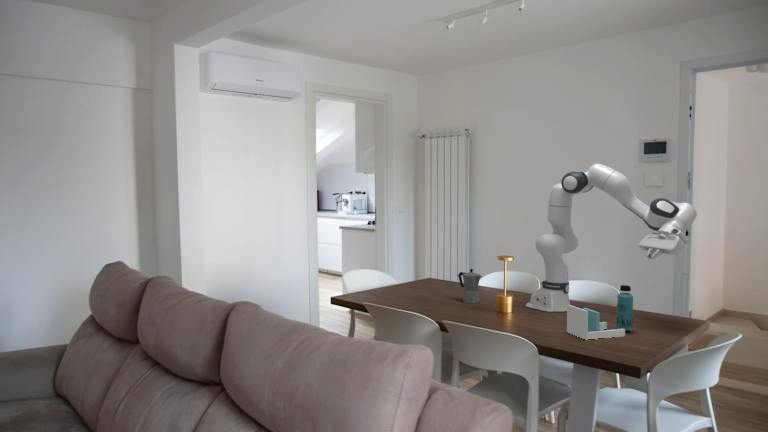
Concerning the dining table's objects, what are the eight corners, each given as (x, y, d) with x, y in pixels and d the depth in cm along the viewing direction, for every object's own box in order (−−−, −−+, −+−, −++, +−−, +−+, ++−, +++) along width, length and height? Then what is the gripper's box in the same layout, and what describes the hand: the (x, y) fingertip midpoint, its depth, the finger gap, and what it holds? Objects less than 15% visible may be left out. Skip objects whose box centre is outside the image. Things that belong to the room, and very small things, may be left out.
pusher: (585, 330, 227) (585, 307, 226) (599, 336, 218) (599, 312, 217) (582, 331, 226) (582, 308, 226) (596, 336, 217) (596, 312, 217)
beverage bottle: (618, 328, 231) (619, 283, 230) (634, 331, 227) (635, 285, 226) (614, 331, 226) (614, 285, 225) (630, 334, 222) (631, 287, 221)
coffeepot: (486, 302, 287) (486, 269, 286) (476, 304, 280) (476, 271, 279) (463, 298, 298) (463, 266, 297) (453, 300, 291) (453, 268, 290)
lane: (605, 328, 231) (605, 301, 231) (625, 336, 219) (625, 307, 219) (566, 332, 226) (567, 304, 226) (585, 340, 214) (585, 311, 214)
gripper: (646, 227, 238) (628, 250, 236) (683, 231, 219) (663, 256, 216) (654, 237, 240) (636, 259, 238) (692, 241, 220) (672, 266, 218)
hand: (649, 258), depth 227 cm, fingers closed
